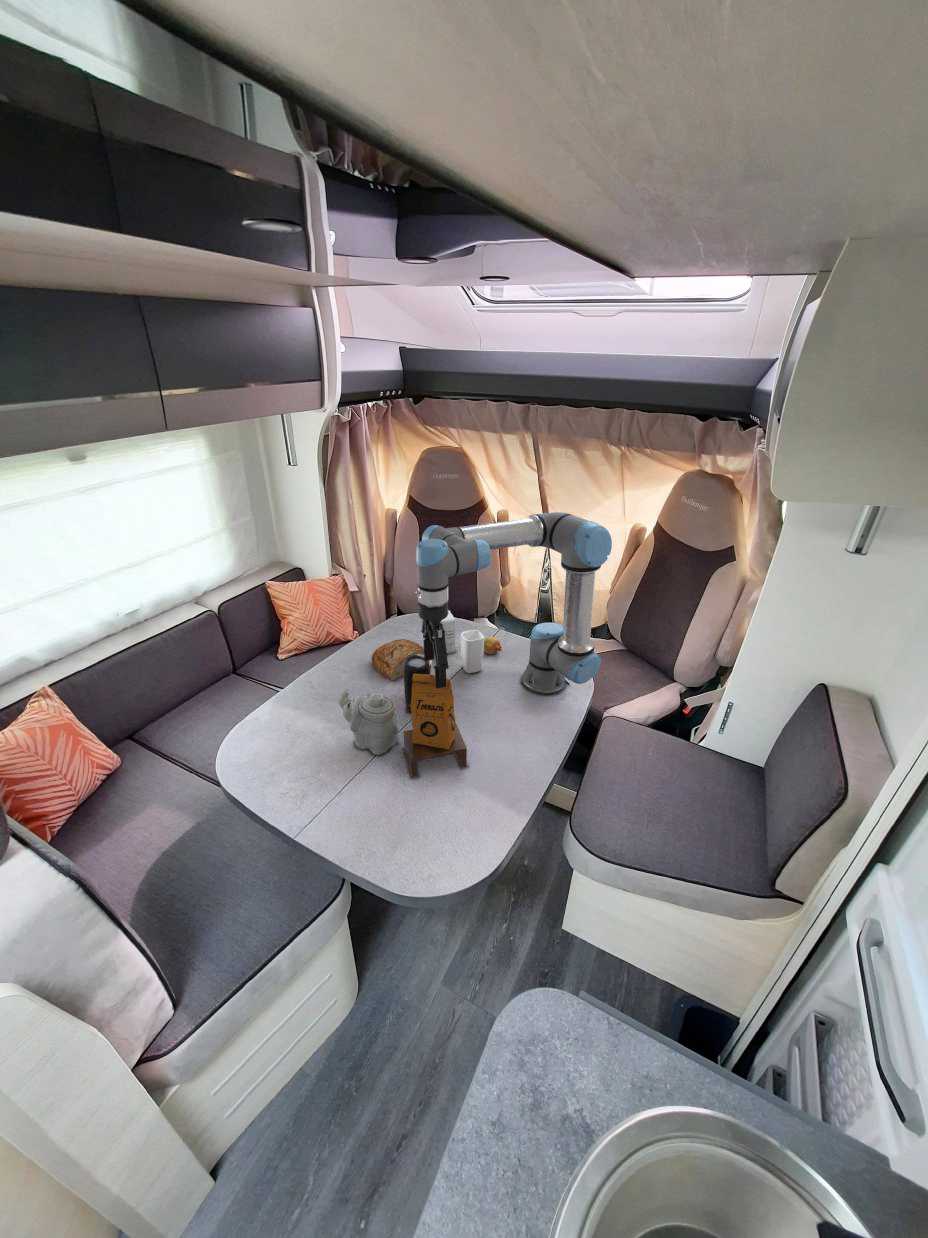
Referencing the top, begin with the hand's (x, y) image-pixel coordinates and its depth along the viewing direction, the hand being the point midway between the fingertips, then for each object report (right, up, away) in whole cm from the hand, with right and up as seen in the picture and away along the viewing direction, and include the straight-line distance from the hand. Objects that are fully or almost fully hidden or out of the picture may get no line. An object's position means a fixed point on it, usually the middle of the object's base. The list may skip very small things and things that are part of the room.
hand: (434, 672), depth 137 cm
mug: (-8, -11, +43) cm, 45 cm away
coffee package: (-1, -21, +10) cm, 23 cm away
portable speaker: (-7, -16, +33) cm, 38 cm away
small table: (-1, -26, +13) cm, 30 cm away
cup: (+11, -5, +56) cm, 57 cm away
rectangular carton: (-1, +2, +69) cm, 69 cm away
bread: (-17, -3, +59) cm, 61 cm away
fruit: (+19, +1, +67) cm, 70 cm away
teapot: (-21, -23, +20) cm, 37 cm away
